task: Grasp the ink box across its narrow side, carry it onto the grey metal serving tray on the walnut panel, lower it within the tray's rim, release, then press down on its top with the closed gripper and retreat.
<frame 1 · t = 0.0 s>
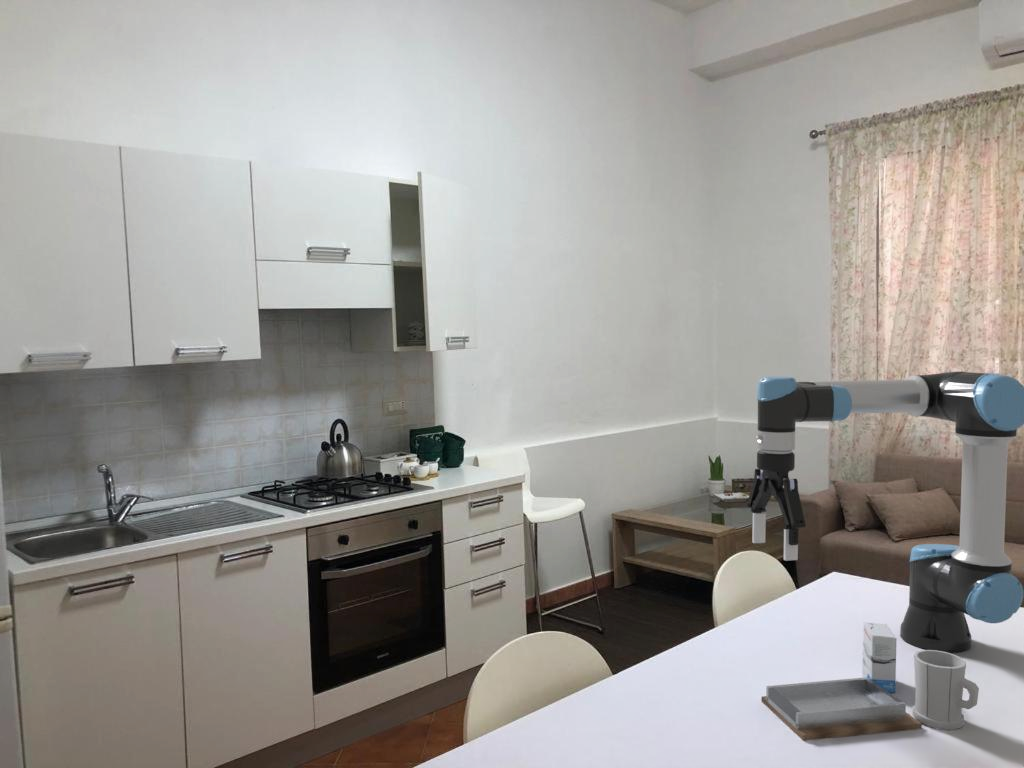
hand: (774, 551, 173), 28 cm above the table, fingers open, 13 cm apart
cup: (942, 721, 156), on the table
ink box: (878, 684, 173), on the table
panel: (838, 714, 159), on the table
metal serving tray: (833, 714, 159), resting on panel
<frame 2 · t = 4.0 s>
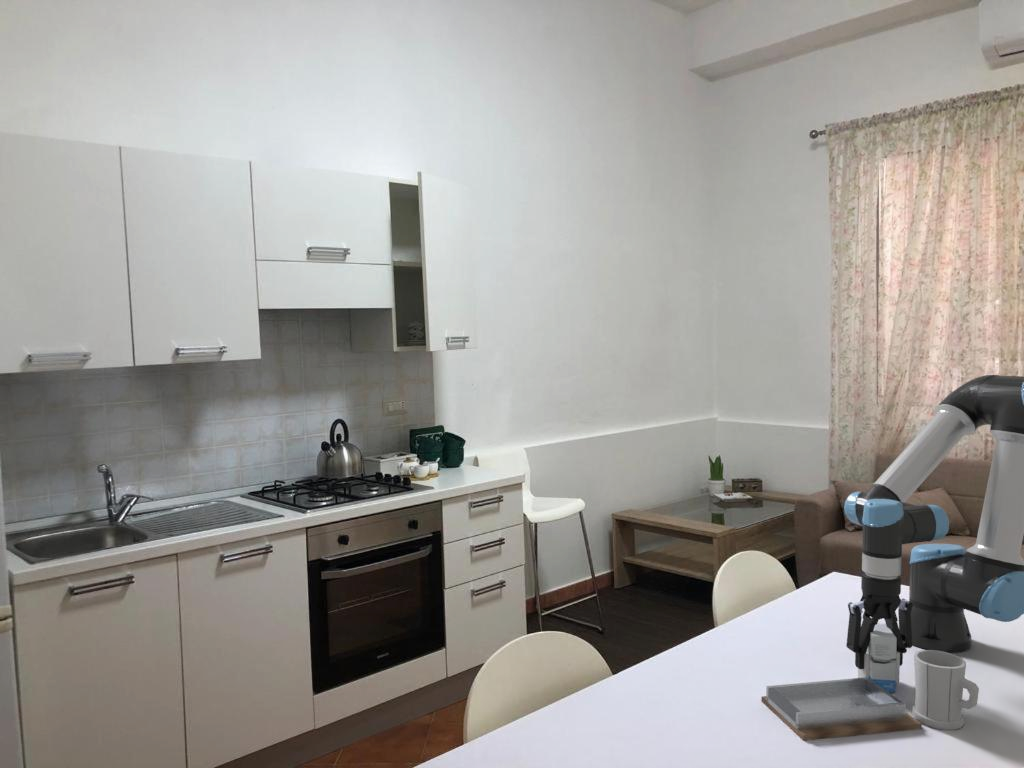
hand: (878, 681, 173), 0 cm above the table, fingers closed on ink box, 6 cm apart
ink box: (878, 684, 173), on the table, touching gripper
everything else where it was.
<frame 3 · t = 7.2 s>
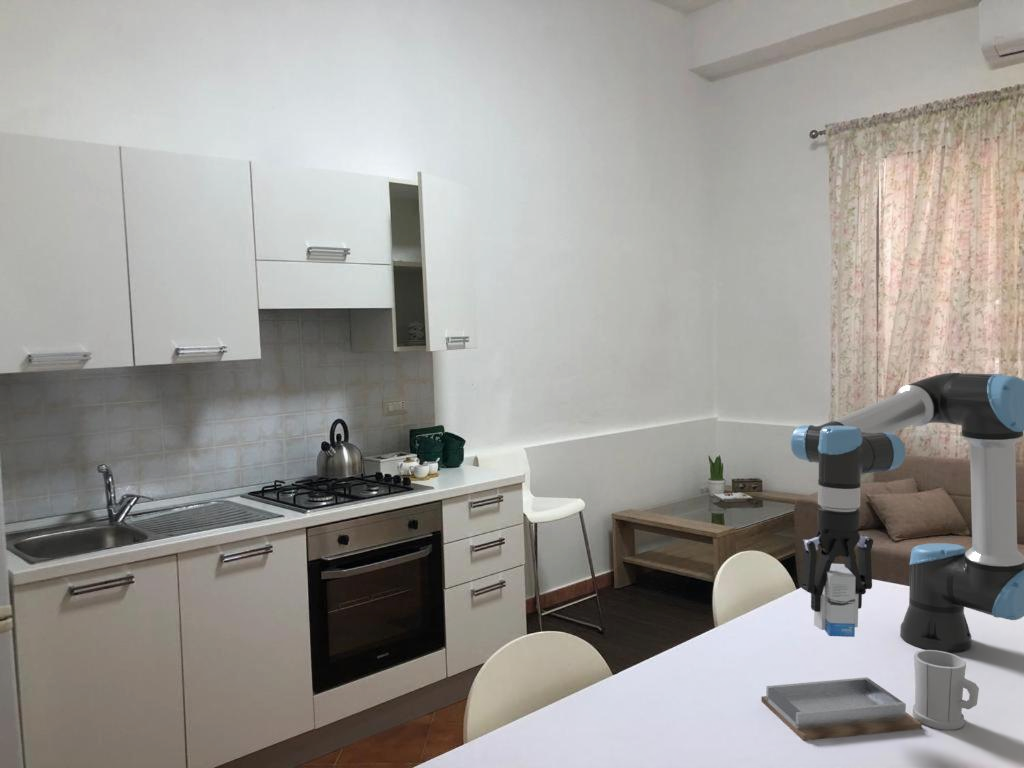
hand: (835, 625, 158), 18 cm above the table, fingers closed on ink box, 6 cm apart
ink box: (836, 630, 158), point 17 cm above the table, touching gripper
everything else where it was.
when the fingers open (3 cm above the table, at t = 10.4 s): ink box stays where it is, resting on metal serving tray.
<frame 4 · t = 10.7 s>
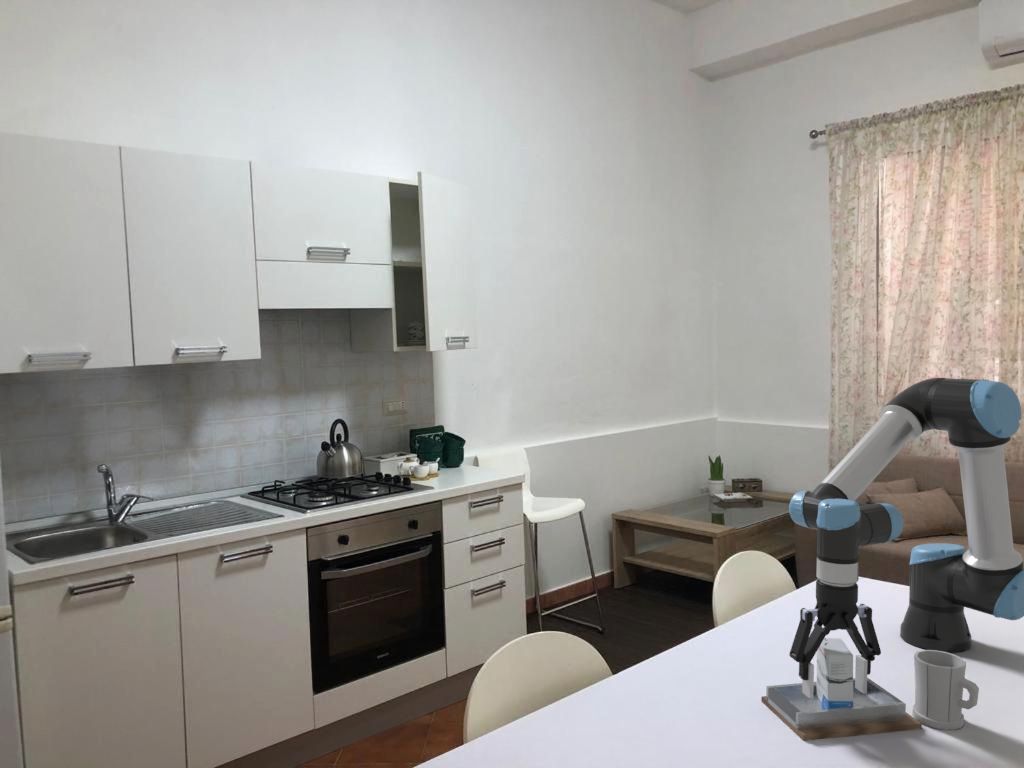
hand: (834, 692, 159), 4 cm above the table, fingers open, 10 cm apart
ink box: (834, 705, 159), point 2 cm above the table, touching metal serving tray
everything else where it was.
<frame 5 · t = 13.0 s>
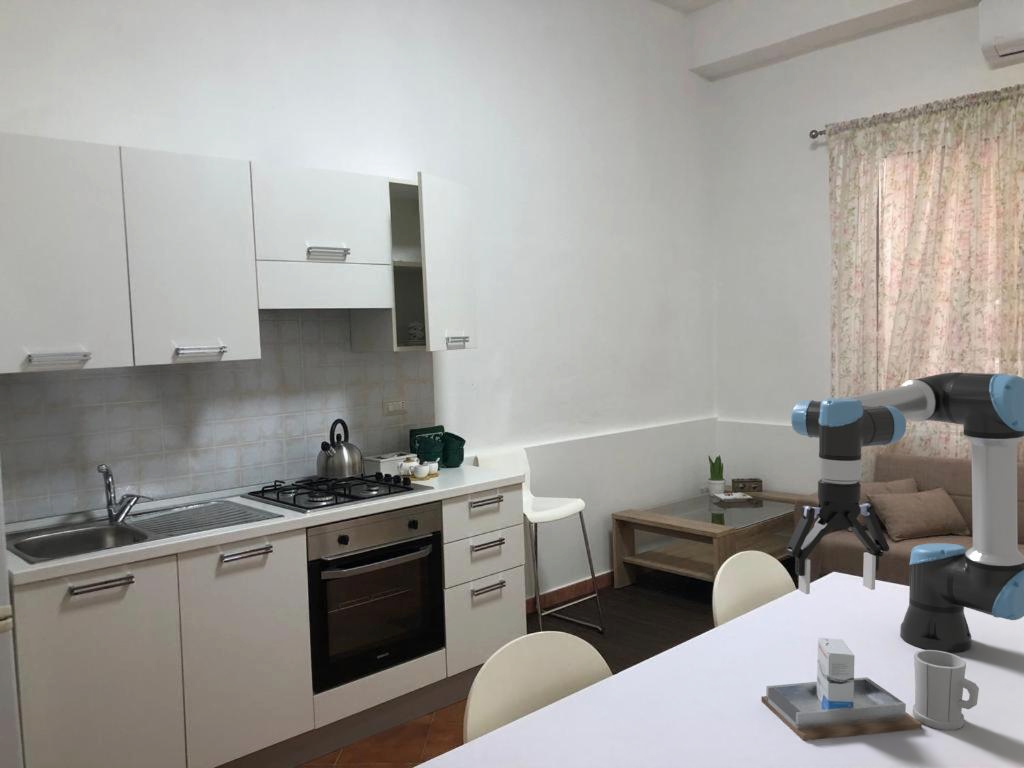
hand: (836, 589, 157), 25 cm above the table, fingers open, 13 cm apart
nothing on the table moved.
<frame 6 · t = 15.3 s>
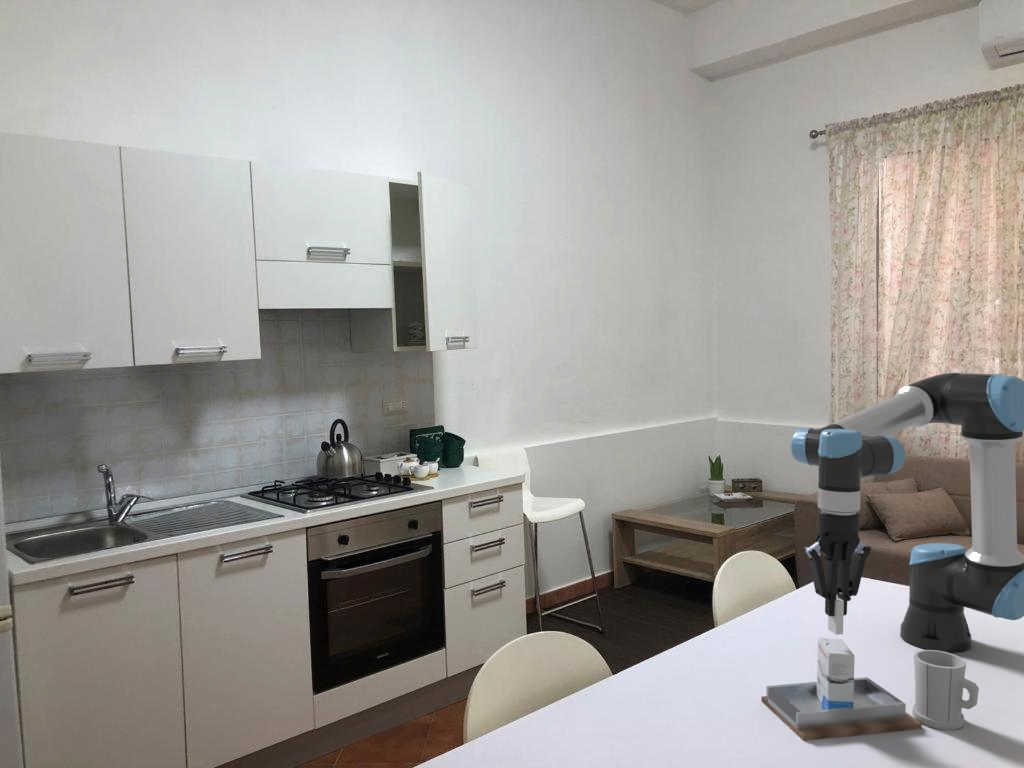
hand: (835, 631, 158), 17 cm above the table, fingers closed
nothing on the table moved.
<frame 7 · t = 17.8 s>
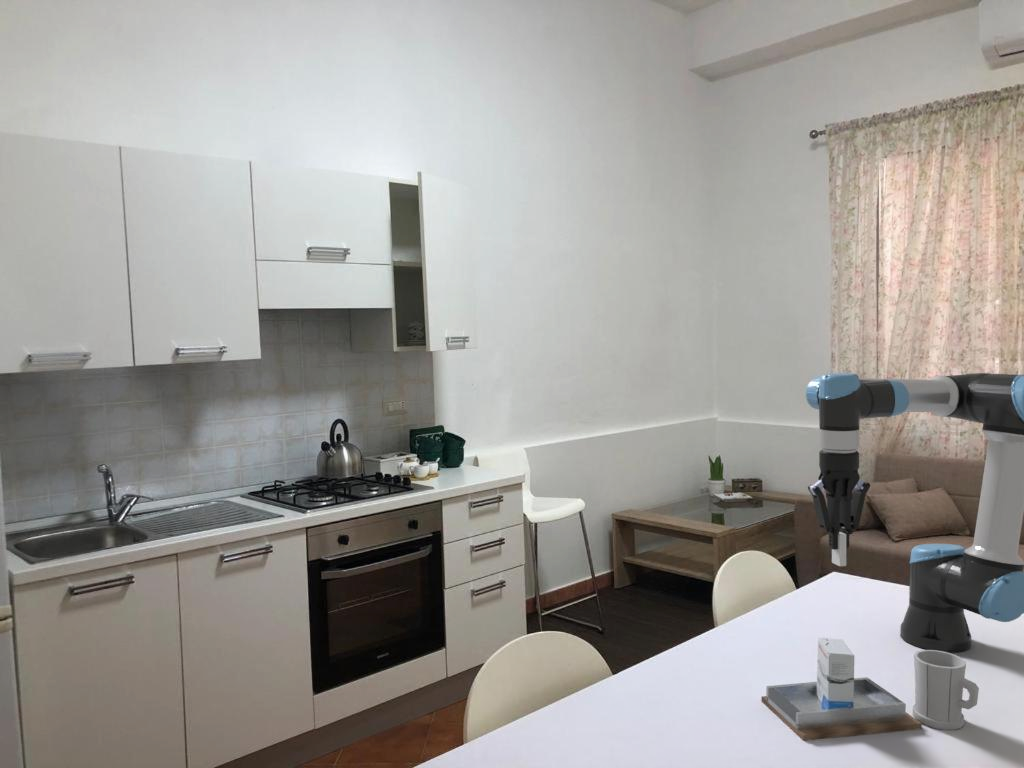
hand: (839, 564, 168), 27 cm above the table, fingers closed
nothing on the table moved.
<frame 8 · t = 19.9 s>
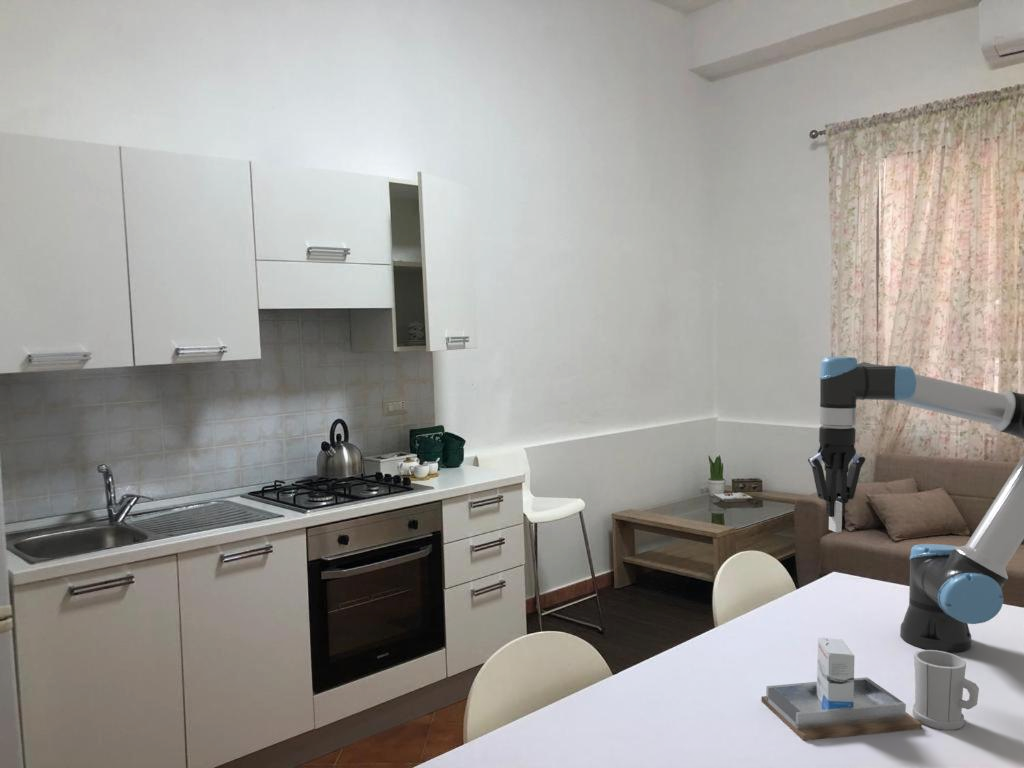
hand: (835, 530, 184), 29 cm above the table, fingers closed
nothing on the table moved.
at the end: ink box inside the target area on the metal serving tray (0.0 cm from its centre), point 1.8 cm above the metal serving tray's base; ink box tilted 0°; the gripper is holding nothing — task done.
